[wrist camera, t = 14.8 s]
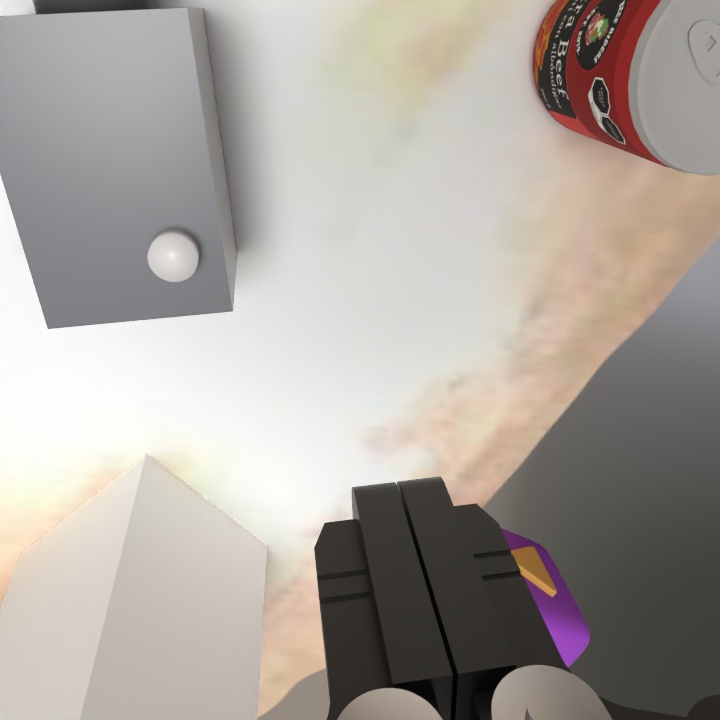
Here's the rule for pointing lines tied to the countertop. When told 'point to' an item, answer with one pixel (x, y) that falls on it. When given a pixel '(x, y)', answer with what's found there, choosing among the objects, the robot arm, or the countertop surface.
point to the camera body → (116, 161)
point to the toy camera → (551, 597)
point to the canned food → (636, 76)
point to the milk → (136, 610)
